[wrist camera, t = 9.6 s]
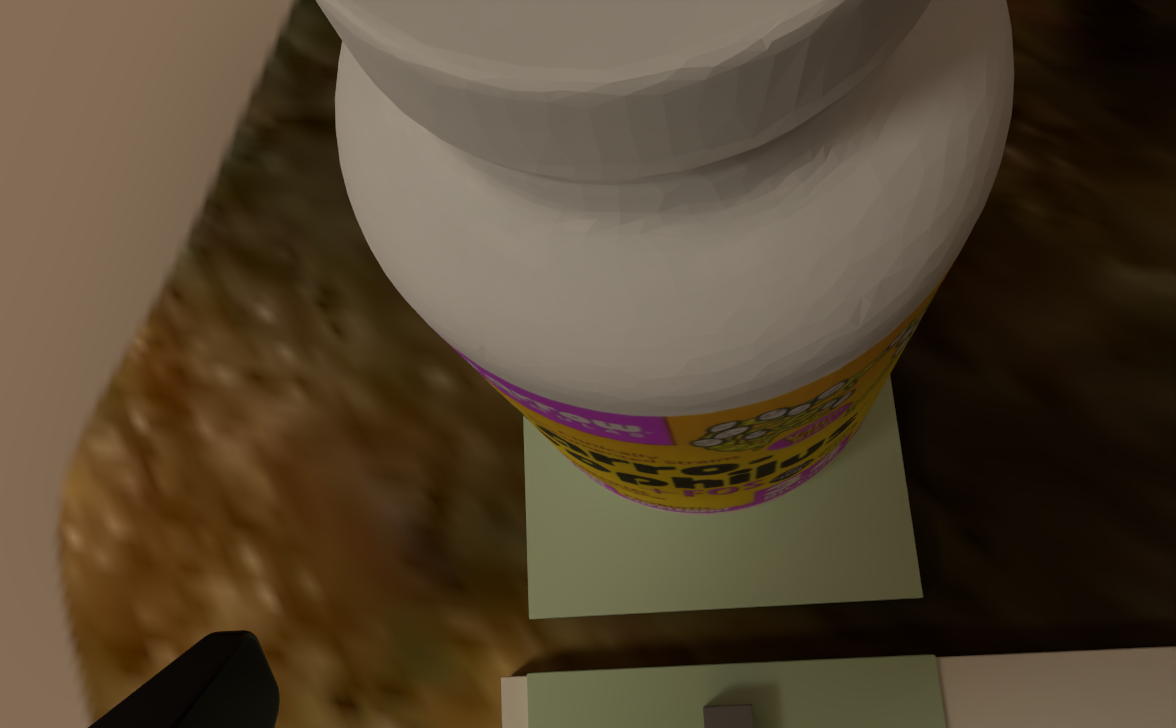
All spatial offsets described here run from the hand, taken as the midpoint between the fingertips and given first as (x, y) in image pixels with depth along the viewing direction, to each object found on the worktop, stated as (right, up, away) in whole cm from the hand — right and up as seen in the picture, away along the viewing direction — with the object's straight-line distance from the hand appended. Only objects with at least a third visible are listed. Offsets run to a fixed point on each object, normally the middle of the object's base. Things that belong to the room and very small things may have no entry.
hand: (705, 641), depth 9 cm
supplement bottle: (+1, +3, +9) cm, 10 cm away
